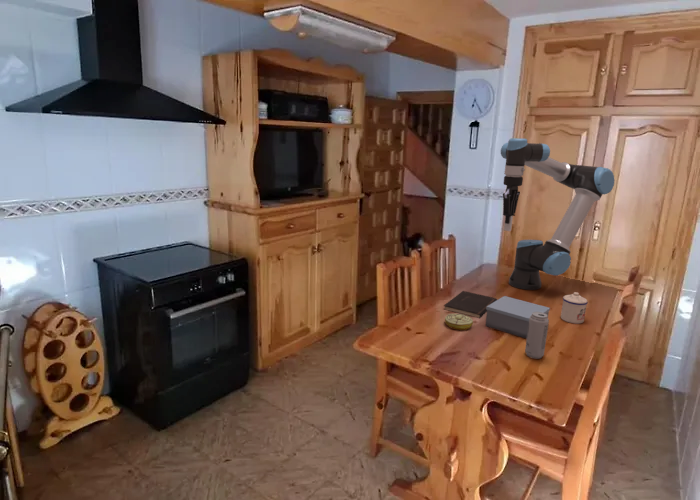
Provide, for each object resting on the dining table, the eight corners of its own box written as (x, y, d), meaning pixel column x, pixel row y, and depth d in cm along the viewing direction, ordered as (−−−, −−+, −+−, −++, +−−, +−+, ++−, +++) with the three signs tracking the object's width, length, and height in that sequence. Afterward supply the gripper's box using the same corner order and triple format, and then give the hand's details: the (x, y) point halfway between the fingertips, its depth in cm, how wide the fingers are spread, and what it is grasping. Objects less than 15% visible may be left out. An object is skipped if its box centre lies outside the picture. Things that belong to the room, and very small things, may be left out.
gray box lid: (503, 298, 188) (504, 295, 187) (549, 310, 176) (549, 307, 176) (486, 309, 176) (486, 306, 175) (534, 323, 164) (534, 320, 164)
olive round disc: (461, 318, 184) (462, 310, 183) (477, 329, 175) (478, 320, 174) (439, 322, 181) (440, 313, 180) (454, 333, 171) (455, 323, 170)
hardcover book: (443, 310, 194) (443, 305, 193) (462, 295, 212) (463, 290, 212) (479, 319, 185) (480, 314, 184) (496, 303, 203) (497, 298, 203)
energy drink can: (526, 349, 159) (531, 309, 155) (544, 354, 156) (550, 313, 152) (523, 356, 154) (528, 315, 150) (542, 361, 151) (548, 319, 147)
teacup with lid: (580, 326, 180) (585, 298, 177) (556, 319, 186) (560, 292, 183) (589, 317, 188) (593, 291, 185) (566, 311, 194) (570, 285, 191)
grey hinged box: (502, 314, 189) (504, 299, 188) (546, 327, 178) (548, 310, 176) (485, 325, 178) (487, 309, 176) (531, 340, 166) (533, 322, 164)
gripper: (516, 177, 184) (509, 234, 190) (528, 175, 193) (521, 229, 199) (498, 176, 189) (492, 231, 195) (511, 174, 198) (505, 227, 204)
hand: (507, 230), depth 197 cm, fingers closed
